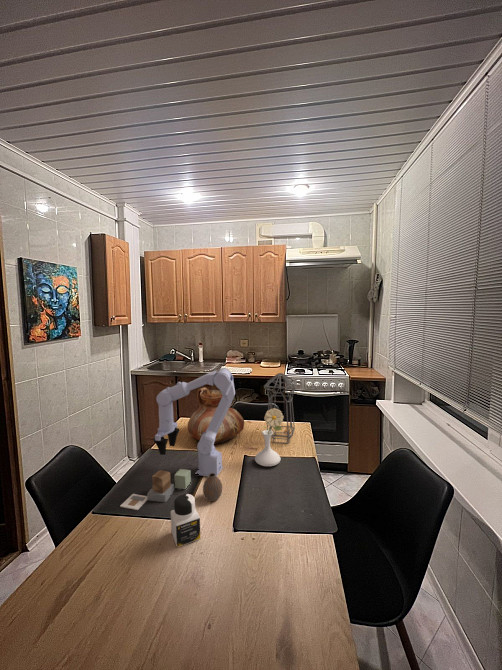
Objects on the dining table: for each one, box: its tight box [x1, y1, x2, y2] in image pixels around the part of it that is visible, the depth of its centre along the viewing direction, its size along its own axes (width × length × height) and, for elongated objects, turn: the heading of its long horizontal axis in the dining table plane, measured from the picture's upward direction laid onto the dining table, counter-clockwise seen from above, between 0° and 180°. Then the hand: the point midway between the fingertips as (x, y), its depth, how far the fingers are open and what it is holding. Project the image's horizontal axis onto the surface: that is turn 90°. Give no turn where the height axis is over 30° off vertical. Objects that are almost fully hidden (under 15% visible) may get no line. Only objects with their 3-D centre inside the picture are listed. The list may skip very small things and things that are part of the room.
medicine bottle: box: [170, 493, 201, 548], centre depth 90 cm, size 7×7×12 cm
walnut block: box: [151, 469, 172, 493], centre depth 110 cm, size 4×4×6 cm
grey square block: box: [146, 483, 175, 503], centre depth 111 cm, size 7×7×3 cm
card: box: [119, 493, 149, 511], centre depth 107 cm, size 7×7×1 cm
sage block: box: [173, 468, 192, 490], centre depth 116 cm, size 4×4×6 cm
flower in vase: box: [254, 407, 284, 467], centre depth 132 cm, size 13×11×25 cm
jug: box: [187, 387, 245, 444], centre depth 160 cm, size 30×30×25 cm
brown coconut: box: [202, 473, 223, 502], centre depth 109 cm, size 7×7×9 cm
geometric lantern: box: [263, 372, 297, 444], centre depth 155 cm, size 16×16×35 cm
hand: (167, 450), depth 126 cm, fingers open, 7 cm apart
